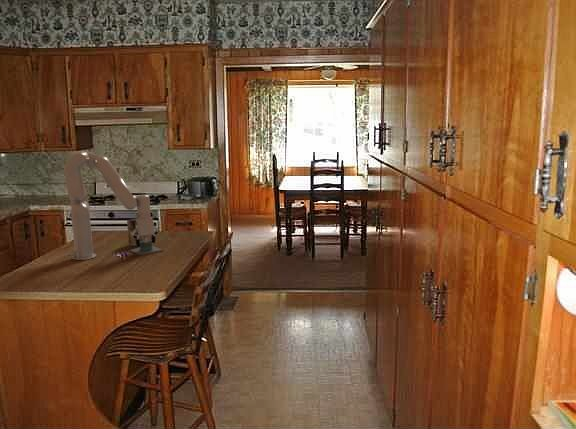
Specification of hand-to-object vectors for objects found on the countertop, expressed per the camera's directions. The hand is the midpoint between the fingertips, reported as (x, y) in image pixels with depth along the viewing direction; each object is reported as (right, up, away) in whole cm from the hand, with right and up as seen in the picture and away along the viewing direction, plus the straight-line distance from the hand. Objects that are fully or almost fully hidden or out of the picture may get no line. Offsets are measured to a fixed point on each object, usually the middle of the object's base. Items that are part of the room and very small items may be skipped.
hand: (145, 244), depth 292 cm
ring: (0, -3, +1) cm, 3 cm away
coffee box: (-10, -2, +18) cm, 21 cm away
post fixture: (0, -4, +1) cm, 4 cm away
